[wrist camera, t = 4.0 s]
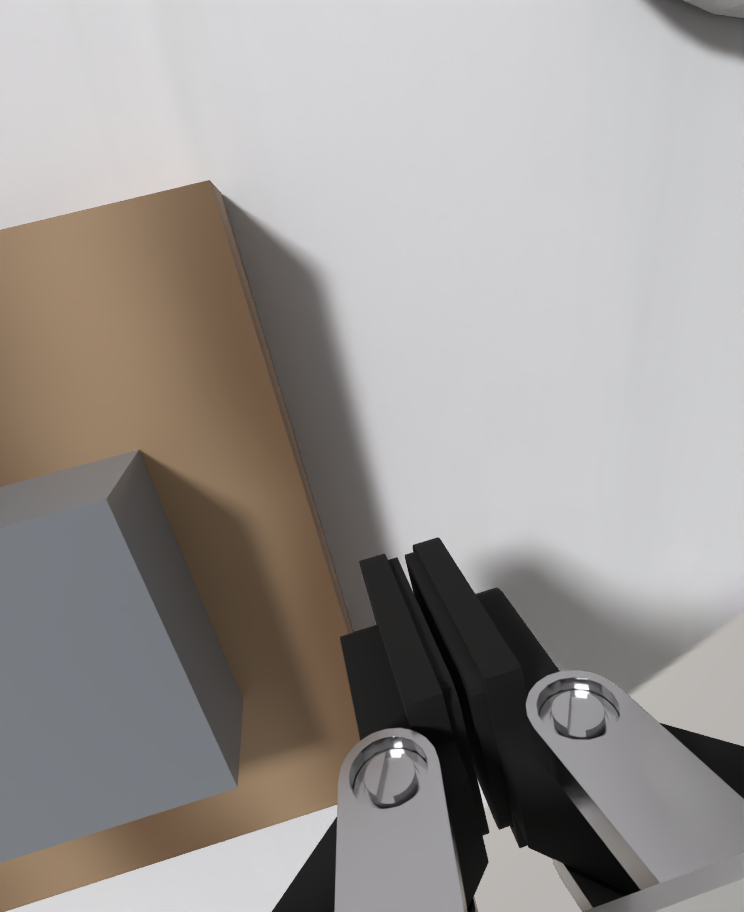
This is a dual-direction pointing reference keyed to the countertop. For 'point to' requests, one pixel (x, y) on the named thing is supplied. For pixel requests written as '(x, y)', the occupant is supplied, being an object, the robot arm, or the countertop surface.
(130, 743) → the slate tile
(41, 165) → the countertop surface
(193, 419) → the walnut board
